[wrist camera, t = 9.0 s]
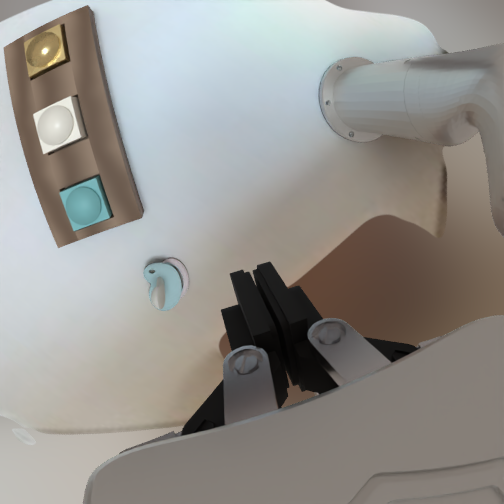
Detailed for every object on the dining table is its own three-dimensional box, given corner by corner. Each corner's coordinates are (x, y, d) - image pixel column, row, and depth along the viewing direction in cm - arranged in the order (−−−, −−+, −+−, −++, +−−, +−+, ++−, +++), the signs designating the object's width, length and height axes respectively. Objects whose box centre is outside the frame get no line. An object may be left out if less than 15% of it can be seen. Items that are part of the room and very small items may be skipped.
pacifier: (184, 251, 42) (141, 258, 41) (188, 271, 36) (139, 280, 35) (192, 296, 45) (152, 304, 44) (197, 321, 39) (152, 329, 38)
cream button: (78, 97, 29) (68, 95, 25) (87, 136, 31) (79, 137, 28) (42, 114, 28) (30, 114, 25) (52, 151, 30) (41, 154, 27)
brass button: (67, 30, 25) (58, 22, 22) (72, 62, 27) (63, 57, 24) (33, 46, 24) (21, 41, 21) (38, 79, 27) (26, 76, 23)
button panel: (93, 12, 26) (87, 5, 23) (143, 211, 38) (141, 217, 35) (13, 51, 24) (3, 47, 22) (65, 239, 37) (58, 247, 34)
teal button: (101, 173, 34) (94, 178, 31) (114, 210, 36) (108, 219, 33) (67, 187, 33) (57, 194, 30) (80, 223, 35) (72, 233, 32)
